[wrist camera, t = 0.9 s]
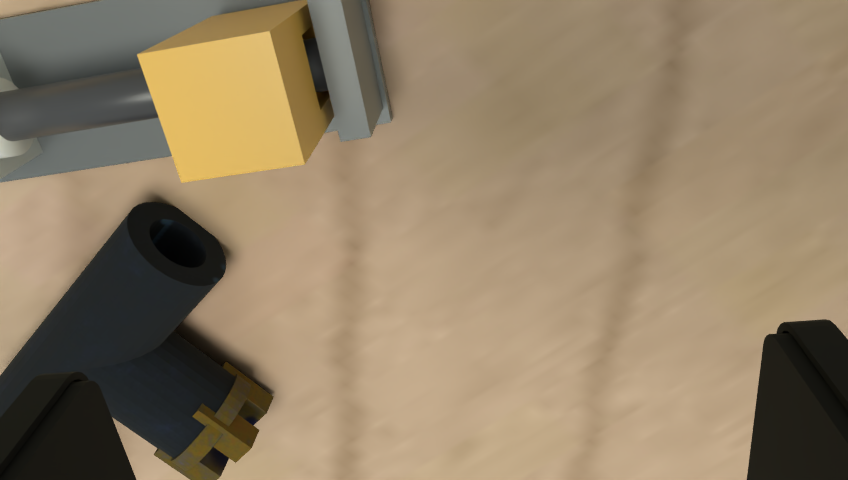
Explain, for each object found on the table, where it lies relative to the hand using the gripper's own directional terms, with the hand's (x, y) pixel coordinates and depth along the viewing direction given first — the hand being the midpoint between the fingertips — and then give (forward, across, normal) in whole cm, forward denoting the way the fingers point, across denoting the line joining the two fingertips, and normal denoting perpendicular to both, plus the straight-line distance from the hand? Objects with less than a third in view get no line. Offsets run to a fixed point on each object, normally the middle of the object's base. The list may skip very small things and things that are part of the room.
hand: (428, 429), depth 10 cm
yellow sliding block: (+22, +7, -1) cm, 23 cm away
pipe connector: (+24, +16, +14) cm, 32 cm away
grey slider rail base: (+23, +13, 0) cm, 27 cm away
